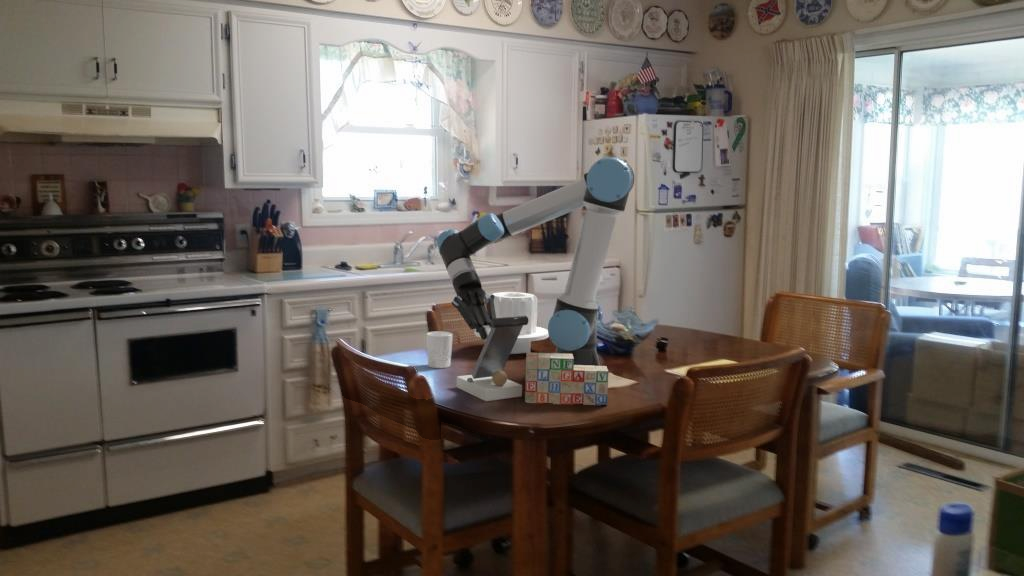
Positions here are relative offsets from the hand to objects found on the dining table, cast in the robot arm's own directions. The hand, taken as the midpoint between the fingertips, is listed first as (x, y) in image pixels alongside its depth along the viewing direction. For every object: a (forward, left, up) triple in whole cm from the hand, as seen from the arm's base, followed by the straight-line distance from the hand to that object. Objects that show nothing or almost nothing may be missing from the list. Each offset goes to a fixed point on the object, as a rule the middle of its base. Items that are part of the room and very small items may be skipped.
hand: (493, 348), depth 219 cm
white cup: (+16, -32, -13) cm, 38 cm away
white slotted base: (+1, -2, -13) cm, 13 cm away
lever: (+2, -4, -8) cm, 9 cm away
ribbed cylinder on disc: (-7, -56, -13) cm, 58 cm away
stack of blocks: (-19, +6, -13) cm, 24 cm away
